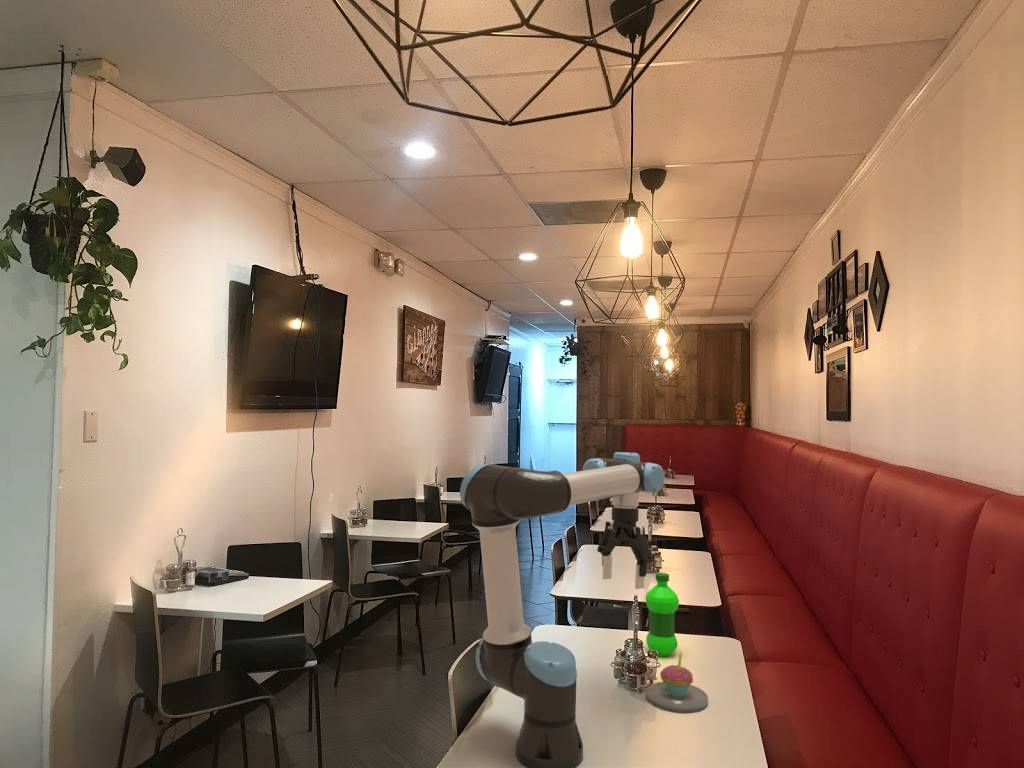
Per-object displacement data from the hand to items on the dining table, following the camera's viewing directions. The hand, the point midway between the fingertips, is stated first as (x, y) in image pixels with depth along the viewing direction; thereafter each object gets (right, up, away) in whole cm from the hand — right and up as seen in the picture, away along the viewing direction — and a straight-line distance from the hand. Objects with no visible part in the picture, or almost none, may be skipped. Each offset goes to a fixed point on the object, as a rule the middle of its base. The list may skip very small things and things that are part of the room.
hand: (622, 583), depth 191 cm
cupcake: (+13, -27, -8) cm, 31 cm away
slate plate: (+13, -29, -8) cm, 33 cm away
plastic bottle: (+16, -30, +25) cm, 42 cm away
